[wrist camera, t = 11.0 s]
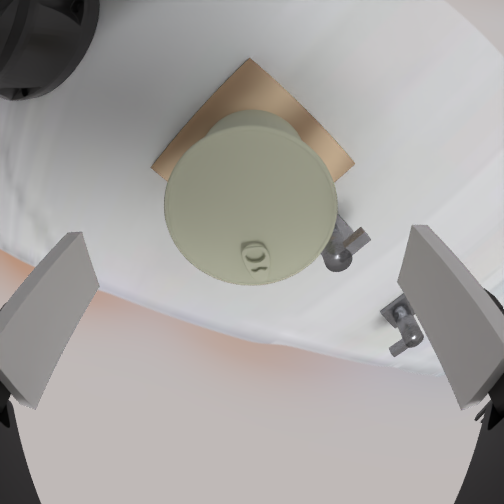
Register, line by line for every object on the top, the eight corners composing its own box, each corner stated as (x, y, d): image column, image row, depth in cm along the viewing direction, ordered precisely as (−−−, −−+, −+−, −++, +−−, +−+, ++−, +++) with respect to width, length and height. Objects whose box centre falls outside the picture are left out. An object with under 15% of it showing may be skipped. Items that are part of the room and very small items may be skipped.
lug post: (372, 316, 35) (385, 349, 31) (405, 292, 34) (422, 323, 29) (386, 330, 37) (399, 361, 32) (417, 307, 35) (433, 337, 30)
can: (212, 217, 28) (187, 300, 18) (189, 121, 23) (138, 148, 13) (310, 202, 27) (343, 280, 17) (298, 102, 23) (333, 113, 12)
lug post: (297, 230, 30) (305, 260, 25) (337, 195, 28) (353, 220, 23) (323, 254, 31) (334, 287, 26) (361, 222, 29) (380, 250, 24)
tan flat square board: (153, 165, 26) (150, 167, 26) (249, 58, 21) (249, 57, 21) (254, 249, 31) (254, 253, 30) (352, 161, 26) (355, 163, 25)
